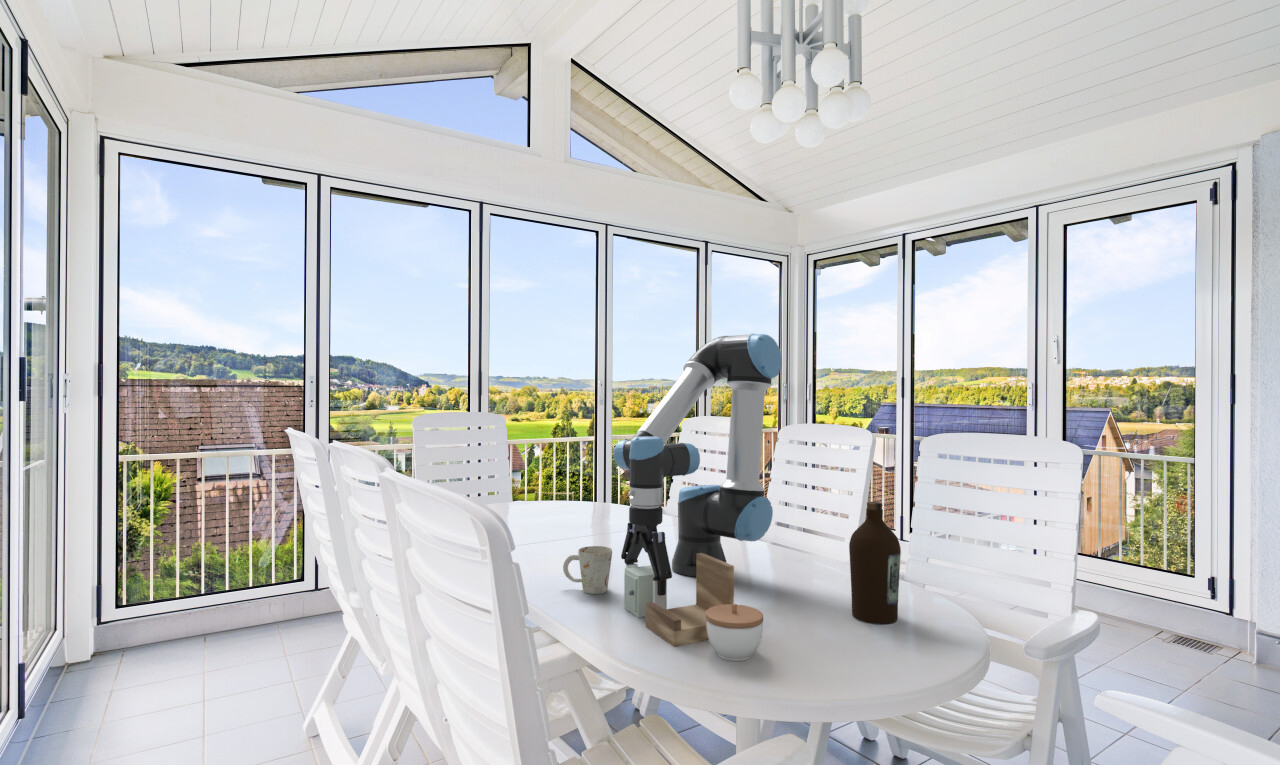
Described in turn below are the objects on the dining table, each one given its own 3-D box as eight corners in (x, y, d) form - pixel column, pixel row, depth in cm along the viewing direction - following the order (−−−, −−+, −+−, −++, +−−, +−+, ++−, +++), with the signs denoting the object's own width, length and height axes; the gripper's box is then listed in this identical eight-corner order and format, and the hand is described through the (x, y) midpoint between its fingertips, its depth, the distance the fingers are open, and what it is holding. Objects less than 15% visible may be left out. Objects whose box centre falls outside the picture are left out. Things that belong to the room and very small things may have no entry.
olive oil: (842, 619, 145) (842, 503, 145) (857, 606, 153) (857, 497, 154) (893, 629, 139) (893, 508, 139) (906, 615, 147) (906, 502, 148)
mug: (607, 596, 160) (607, 554, 160) (557, 593, 162) (557, 552, 162) (615, 586, 168) (615, 546, 168) (567, 583, 170) (567, 544, 170)
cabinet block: (651, 604, 155) (652, 565, 155) (666, 613, 148) (666, 572, 148) (619, 609, 151) (620, 569, 151) (633, 618, 145) (633, 576, 145)
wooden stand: (702, 617, 145) (702, 552, 146) (733, 635, 135) (733, 565, 135) (645, 627, 139) (646, 559, 139) (674, 646, 128) (674, 573, 129)
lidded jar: (700, 644, 130) (700, 596, 130) (754, 643, 131) (755, 595, 131) (711, 667, 119) (711, 614, 119) (770, 665, 120) (770, 613, 120)
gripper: (608, 498, 160) (606, 588, 159) (657, 516, 137) (656, 620, 137) (636, 496, 163) (635, 584, 163) (688, 513, 141) (687, 614, 140)
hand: (644, 600), depth 150 cm, fingers open, 13 cm apart
